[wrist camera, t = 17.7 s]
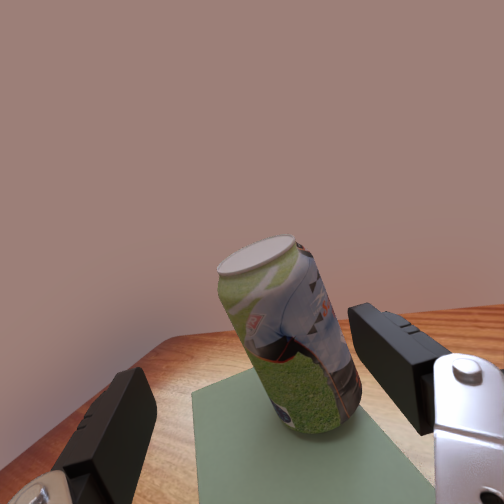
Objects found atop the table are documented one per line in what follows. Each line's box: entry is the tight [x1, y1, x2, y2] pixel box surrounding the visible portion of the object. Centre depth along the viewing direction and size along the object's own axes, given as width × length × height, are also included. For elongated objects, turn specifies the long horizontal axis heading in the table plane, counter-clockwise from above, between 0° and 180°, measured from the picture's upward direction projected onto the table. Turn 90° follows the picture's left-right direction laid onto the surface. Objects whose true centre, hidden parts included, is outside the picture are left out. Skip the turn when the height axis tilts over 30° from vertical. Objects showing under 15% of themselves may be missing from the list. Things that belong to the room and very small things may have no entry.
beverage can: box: [217, 234, 362, 434], centre depth 17 cm, size 6×7×12 cm
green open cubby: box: [191, 367, 436, 504], centre depth 19 cm, size 11×14×10 cm
